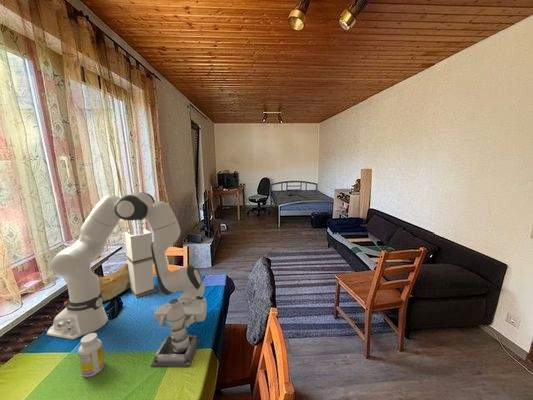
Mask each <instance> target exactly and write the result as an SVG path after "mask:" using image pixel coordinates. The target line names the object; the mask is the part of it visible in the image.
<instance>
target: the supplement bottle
mask: <svg viewBox="0 0 533 400" xmlns="http://www.w3.org/2000/svg"><path fill="white" fill-rule="evenodd" d="M77 351H78V358H79V364H80V372H81V374H82V376H83V377H85V378H87V377H88V378H89V377H93V376H95V375H97V374H98V373H100V372H101V371H102V370H103V369H104V367H105V357H104V352H103V344H102V340H101V339H99V338H98V334H97V332H91V333H88V334H85V335H83V337H82V338H81V339H80V346H79V348H78V350H77Z"/></svg>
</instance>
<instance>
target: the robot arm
mask: <svg viewBox="0 0 533 400" xmlns="http://www.w3.org/2000/svg"><path fill="white" fill-rule="evenodd" d="M120 220H124V221H142V220H146V221H147V223H148V224H149V225H150V227H151V228H150V229H151V231H152V234H153V240H152V244H151V251H152V256H153V261H154V262H153V265H154V268H155V273H156V279H157V287H158V288H157V289H158V291H159V292H160V293H161V294H163V295H165V296H170V295H173V294H175V293H177V292H180V291H182V292H181V294H180V296H179V297H178V299H179V303H180V305H179V306H181V307H182V308H183V309H184V311H185V323H184V327H186V328H189V327H190V325H192V324H194V323H195V322H203V321H205V320H206V318H207V310H208V307H207V306H208V303H207V298H206V297H204V296H203V295H204V293H205V289H206V284H205V283H204V281H203V280H202V275H201V273H200V271H199V270H198V269H197V268H196V267H195V266H193V265H192V264H191V265H187V266H183V267H180V268H178V269H175V270H174V269H173V270H169V268H168V263H167V259H166V252H167V250H168V249H169V248H170V247H171V246H172V245H173V244H175V243H176V242H177V240H179V237H181V228H180V223H179V221H178V219H177V217H176V215H175V213H174V211H173V210H172V208H171V206H170V205H169V203H168V202H166V201H156V200H155V198H154V196H152V195H151V194H150V193H147V192H143V191H142V192H132V193H130V194H125V195H123V196H121V197H119V196H117V195H113V194H109V195H105V196H104V197H102V198H101V199H100V201H99V202H98V203H97V204H96V205H95V206H93V209H92V210H91V212H90V213H89V214H88V216H87V218H85V221H84V222H83V224H82V225H81V226H80V234H79V237H78V239H77V240H76V241H75V242H74V243H73V244H71V245H69V246H67V247H66V248H64V249H62V250H60V251H59V252H57V254H55V256H54V257H53V258H52V259H51V261H50V269H51V270H52V272H53V273H54V274H56V275H58V276H60V277H62V278H63V279H64V281H65V283H66V286H67V292H68V297H69V298H68V299H67V300H66V301H64V302H63V303H64V304H63V305H64V306H65V305H66V307H65V308H64V309H62V310H61V311H60V312H59V313H58V314H57V315H56V316H55V317H54V319H53V325H51V326H50V327H49V329H48V330H47V332H46V336H51V337H56V338H61V339H62V338H63V339H67V340H76V339H78V338H79V337H82V336H85V335H87V334H90V333H94V332H95V331H97V330H99V329H100V328H103V326H105V325H106V323H107V322H108V320H109V317H108V315H107V314H106V311H105V308H104V304H103V302H102V292H101V291H100V285H99V277H100V276H98V274H97V273H94V272H93V270H92V267H91V264H92V263H93V262H94V261H96V260H97V259H99V257H100V256H101V255H102V253H103V252H104V250H105V246H106V245H107V242H108V239H109V238H110V236H111V234H112V233H113V231H114V230H115V228H116V226H118V224H119V222H120ZM169 309H170V308H169V302H168V303H163V304H161V306H159V307H158V308H157V309H156V310H155V311H154V320H155V322H159V328H165V326H166V325H167V322H168V320H167V313H168V311H169Z"/></svg>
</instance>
